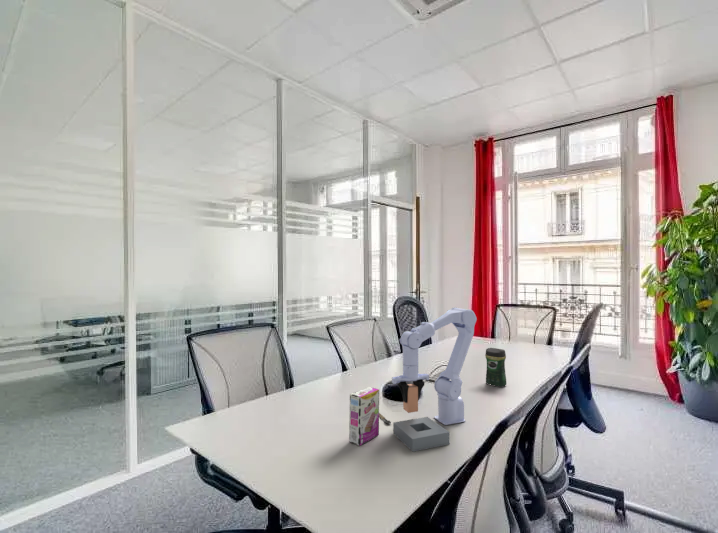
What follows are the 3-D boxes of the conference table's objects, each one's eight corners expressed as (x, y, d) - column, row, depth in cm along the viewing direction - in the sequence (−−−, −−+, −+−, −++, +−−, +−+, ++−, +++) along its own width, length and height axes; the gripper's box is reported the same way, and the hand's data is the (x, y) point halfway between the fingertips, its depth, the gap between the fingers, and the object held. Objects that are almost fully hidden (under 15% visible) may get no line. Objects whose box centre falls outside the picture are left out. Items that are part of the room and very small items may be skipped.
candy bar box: (360, 447, 120) (359, 397, 120) (348, 442, 123) (348, 394, 124) (380, 435, 129) (379, 388, 129) (369, 431, 132) (368, 386, 132)
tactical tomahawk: (359, 410, 155) (359, 407, 155) (374, 406, 157) (374, 404, 157) (377, 429, 135) (376, 426, 135) (393, 425, 137) (393, 422, 137)
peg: (412, 407, 138) (412, 383, 138) (418, 411, 134) (417, 386, 134) (403, 409, 136) (403, 384, 136) (408, 412, 132) (408, 388, 133)
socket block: (427, 427, 135) (427, 416, 135) (449, 444, 122) (449, 432, 122) (393, 433, 130) (393, 422, 130) (412, 451, 117) (412, 439, 117)
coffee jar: (508, 385, 185) (508, 348, 186) (501, 388, 180) (501, 351, 180) (490, 381, 192) (490, 346, 193) (483, 384, 187) (482, 348, 187)
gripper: (422, 360, 141) (422, 395, 141) (388, 363, 136) (388, 399, 136) (431, 364, 135) (432, 401, 134) (396, 368, 130) (396, 406, 130)
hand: (410, 401), depth 135 cm, fingers closed on peg, 4 cm apart
